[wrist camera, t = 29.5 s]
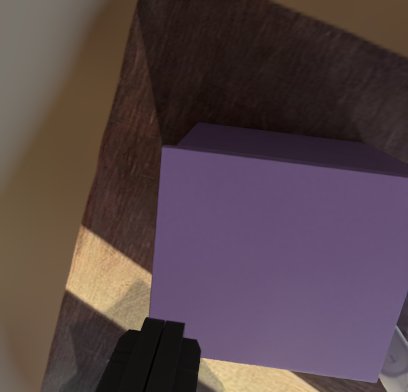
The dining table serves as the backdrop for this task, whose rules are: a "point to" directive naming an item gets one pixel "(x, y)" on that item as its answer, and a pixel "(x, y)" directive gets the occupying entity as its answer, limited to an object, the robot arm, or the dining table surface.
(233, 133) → the box
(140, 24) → the dining table surface
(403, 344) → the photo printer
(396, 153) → the dining table surface
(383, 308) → the lid
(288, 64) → the dining table surface
